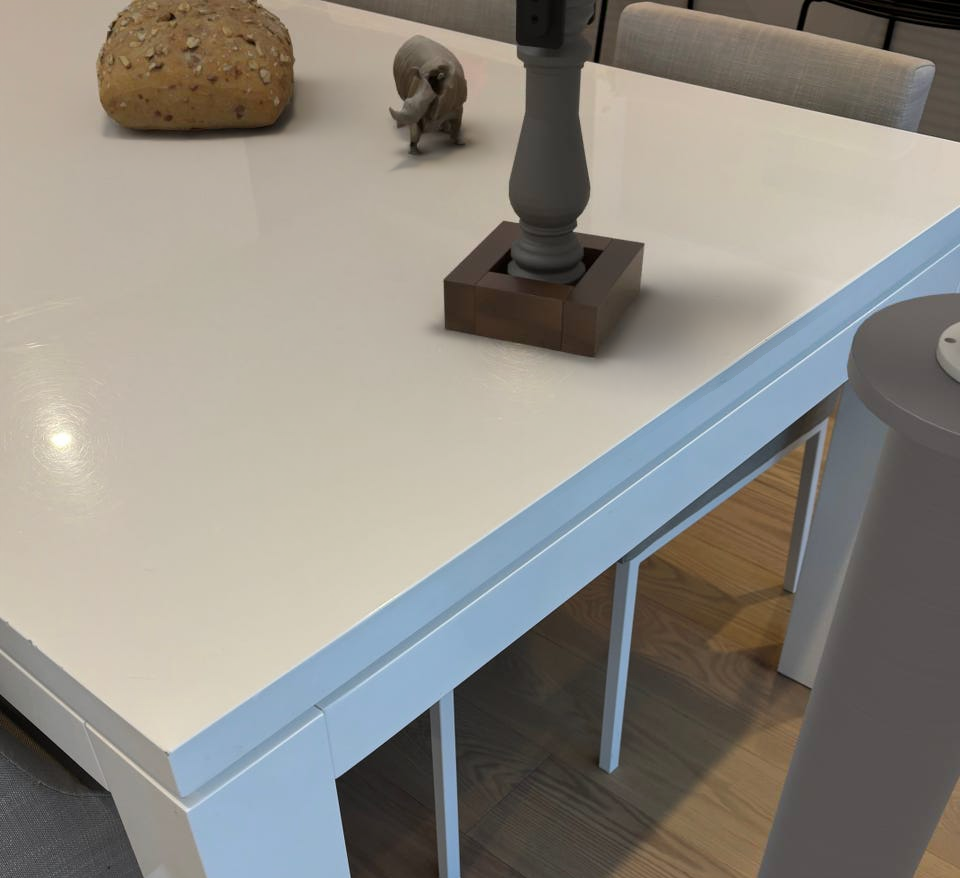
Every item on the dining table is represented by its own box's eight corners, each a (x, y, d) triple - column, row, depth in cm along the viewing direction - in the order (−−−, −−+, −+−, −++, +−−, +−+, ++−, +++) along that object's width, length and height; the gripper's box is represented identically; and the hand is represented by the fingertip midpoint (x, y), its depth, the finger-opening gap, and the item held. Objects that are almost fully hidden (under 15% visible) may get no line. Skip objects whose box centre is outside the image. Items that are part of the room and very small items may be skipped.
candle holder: (589, 294, 88) (612, -66, 71) (577, 329, 83) (598, -47, 66) (515, 287, 89) (520, -70, 72) (499, 321, 85) (500, -51, 68)
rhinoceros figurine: (468, 84, 121) (457, -21, 107) (478, 193, 119) (467, 100, 104) (400, 92, 122) (379, -12, 107) (407, 201, 119) (387, 109, 104)
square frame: (640, 290, 89) (645, 242, 86) (593, 357, 80) (597, 306, 78) (502, 266, 92) (503, 220, 89) (444, 328, 84) (443, 279, 81)
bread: (294, 138, 116) (280, 13, 108) (94, 143, 115) (64, 17, 107) (306, 72, 134) (294, -40, 126) (133, 76, 133) (110, -37, 125)
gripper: (583, -321, 54) (566, 75, 66) (674, -329, 65) (645, 9, 77) (446, -321, 56) (454, 62, 68) (558, -329, 67) (547, 0, 80)
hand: (556, 31), depth 73 cm, fingers closed on candle holder, 5 cm apart
